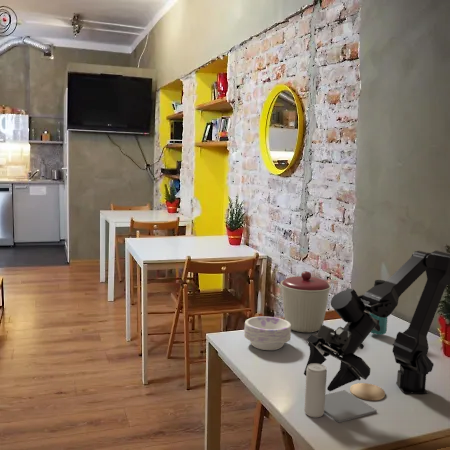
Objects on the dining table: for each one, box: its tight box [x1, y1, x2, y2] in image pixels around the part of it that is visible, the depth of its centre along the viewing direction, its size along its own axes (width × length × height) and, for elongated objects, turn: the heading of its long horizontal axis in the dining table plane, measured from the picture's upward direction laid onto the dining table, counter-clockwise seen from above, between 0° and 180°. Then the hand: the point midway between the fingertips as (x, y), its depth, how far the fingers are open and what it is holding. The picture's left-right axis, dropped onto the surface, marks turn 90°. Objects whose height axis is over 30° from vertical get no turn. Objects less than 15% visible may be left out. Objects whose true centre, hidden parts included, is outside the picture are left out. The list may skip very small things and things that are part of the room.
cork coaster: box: [349, 382, 386, 402], centre depth 141 cm, size 9×9×1 cm
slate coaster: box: [324, 389, 378, 423], centre depth 133 cm, size 12×12×1 cm
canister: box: [280, 270, 332, 334], centre depth 190 cm, size 18×18×21 cm
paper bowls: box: [243, 315, 292, 351], centre depth 173 cm, size 15×15×8 cm
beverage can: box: [303, 363, 328, 419], centre depth 128 cm, size 5×5×12 cm
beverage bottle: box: [368, 279, 389, 335], centre depth 185 cm, size 6×7×20 cm
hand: (316, 382), depth 128 cm, fingers open, 9 cm apart
